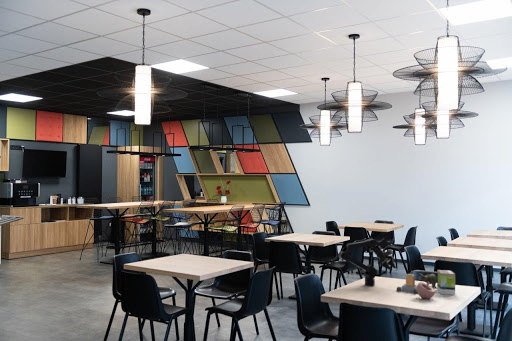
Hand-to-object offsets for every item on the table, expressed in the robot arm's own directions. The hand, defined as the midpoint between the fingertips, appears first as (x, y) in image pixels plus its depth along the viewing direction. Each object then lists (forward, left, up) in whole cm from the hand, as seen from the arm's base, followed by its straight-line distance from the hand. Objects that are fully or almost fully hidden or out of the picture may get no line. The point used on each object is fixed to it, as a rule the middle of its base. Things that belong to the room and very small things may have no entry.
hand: (393, 268), depth 356 cm
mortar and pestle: (+29, -25, -14) cm, 40 cm away
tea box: (+37, +3, -14) cm, 39 cm away
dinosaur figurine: (+25, +15, -14) cm, 32 cm away
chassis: (+14, -5, -14) cm, 20 cm away
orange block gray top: (+14, -5, -13) cm, 19 cm away
